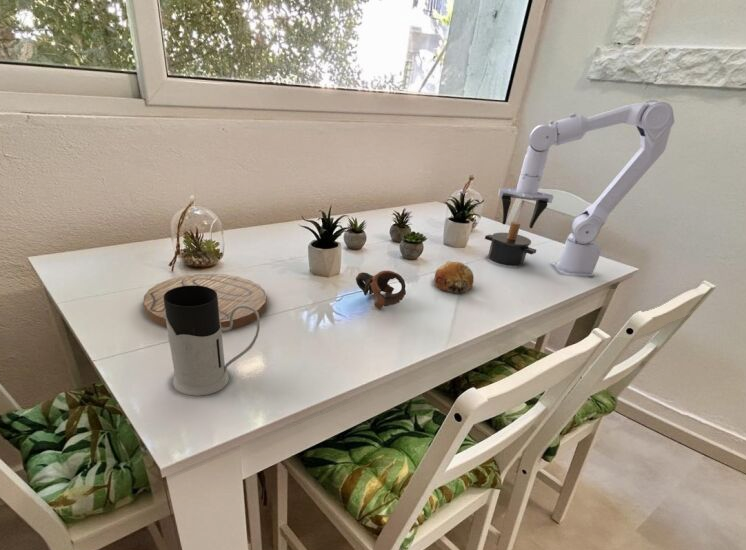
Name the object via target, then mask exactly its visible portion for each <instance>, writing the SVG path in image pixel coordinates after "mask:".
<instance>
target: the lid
mask: <svg viewBox="0 0 746 550" xmlns="http://www.w3.org/2000/svg"><path fill="white" fill-rule="evenodd" d="M520 228H521V223H520V222H519V221H518V222H517V221H510V226H509V229H508V232H495V233H493V234H491V235H492V239H494V240H495V241H497V242H499V243H502V244H506V245H511V246H528V245H529V246H531V244H532V240H531V239H530V238H528V237H526V236H523V235H521V234H519V231H520ZM529 246H528V247H529Z"/></svg>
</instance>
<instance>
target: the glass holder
mask: <svg viewBox="0 0 746 550" xmlns="http://www.w3.org/2000/svg"><path fill="white" fill-rule="evenodd" d="M164 303H165V318H166V324H167V327H166V329H167V330H166V331H167V336H168V342H169V348H170V355H171V360H172V366H173V372H174V377H173V381H172V385H173V387H174V389H175V390H176V391H177V392H179V393H181V394H184V395H187V396H193V397H195V396H200V397H201V396H207V395H211V394H215V393H217V392H219V391H221V390H222V389H224V388H225V387H226V386H227V385H228V383H229V378H230V377H229V374H228V367H229V366H230V365H232V364H233V363H234V362H236V361H237V360H238V359H240V358H241V357H243V356H244V355H245V354H247V353H248V352H249V351H250V350H251V349H252V348H253V347H254V344H255V343H256V341H257V339H258V336H259V332H260V328H261V319H260V317H259V314H258V312H257V310H256V309H255V308H253V307H252V306H249V305H244V304H242V305H238V306H236V307H235V308H234V309H233V310H232V312H231V315H230V326H229V327H226V328H222V327H221V323H220V319H219V308H218V297H217V293H216V291H214V290H213V289H211V288H208V287H204V286H196V285H190V286H181V287H177V288H173V289H171V290H169V291H167V292H166V293H165V294H164ZM239 308H248V309H251V310H252V311H254V312H255V314H256V316H257V319H256V320H257V324H256V331H255V335H254V337H253V339H252V340H251V342H250V344H249V345H248V346H247V347H246V348H245V349H244V350H243V351H241V352H240V353H239V354H237V355H236V356H234V357H233V358H231V359H230V360H228V361H227V362H225V352H224V341H223V332H228V331H230V330H232V329H231V328H232V325H233V314H234V312H235V311H236V310H238V309H239Z"/></svg>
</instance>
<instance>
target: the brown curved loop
mask: <svg viewBox="0 0 746 550" xmlns="http://www.w3.org/2000/svg"><path fill="white" fill-rule="evenodd" d="M394 279H396V280H397V281H398V283H399V284H400V285H401V288H400V290H399V291H398V292H395V293H393V292H394V290H395V288H394V287H393V286H392V285H390V284H388V283H389V281H390V280H394ZM355 282H356V285H357V286H358V287H359V289H360V290H361V291H362V293H363V296H367V295H368V294H369V295H370V296H371V295H372V294H373V295H374V296H375V298H376V301H375V302H374V307H375V308H377V309H378V310H381V309H382V308H383V307H391V306H393V305H397V304H399V303H400V301H402V300H403V299H404V298H405V296H406V295H407V290H406V286H407V285H406V282H405V279H404V278H403V276H401V275H400V274H399V273H397V272H395V271H392V270H381V271H379V272H378V273H376V274H374V275H372V274H370V273H368V272H364V271H363V272H359V273H358V274H357V276H356V277H355ZM381 292H383V293H385V294H384V295H383V294H382V293H381Z"/></svg>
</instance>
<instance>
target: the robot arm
mask: <svg viewBox="0 0 746 550" xmlns="http://www.w3.org/2000/svg"><path fill="white" fill-rule="evenodd" d="M620 124H627V125H630V126H635V127H636V129H637V131H638V133H639V143H640V147H639V149H638V150H637V151H636V152H635V154H634V155H633V156H632V157H631V158H630V159H629V160H628V162H627V164H625V165H624V167H623V168H622V169H621V170H620V171H619V172H618V173H617V175H616V176H615V177H614V178H613V180H612V181H611V182H610V183H609V184H608V186H607V187H606V188H605V189H604V190H603V191H602V193H601V194H600V195H599V196H598V197H597V199H595V201H594V202H593V203H591V204H590V205H588V206H587V207H586V208H585V210H584V211H582V212H580V213H579V214H577V215H576V216H575V217H574V218H573V219H572V221H571V223H570V224H571V225H570V228H571V231H572V232H571V233H570V234H569V235H567V238H566V240H565V244H564V246H563V249H562V252H561V255H560V257H559V261H558V262H552V266H554V267H555V268H556V269H557V270H558V271H559V272H560V273H563V274H573V275H581V276H582V275H583V276H585V277H593V276H594V274H593V273H594V271H595V268H596V266H597V264H598V261H599V258H600V257H601V251H602V246H601V244H600V242H597V241H595V240H596V239H597V238H598V237H599V235H600V232H601V230H602V228H603V226H604V225H605V224H606V222H607V220H608V217H609V216H610V214H611V213H612V212H613V210H614V209H615V208H616V206H618V205H619V204H620V202H621V201H622V200H623V199H624V198H625V197H626V195H627V194H628V193H629V192H630V191H631V190H632V189H633V188H634V187H635V185H636V184H637V183H638V182H639V181H640V179H642V177H644V175H645V174H646V173H647V172H648V171H649V169H650V168H651V167H652V166H653V165H654V164H655V163H656V162H657V160H658V159H659V158H660V157H661V156H662V155H663V154H664V152H665V150H666V149H667V144H668V141H669V137H670V134H671V131H672V128H673V125H674V124H675V116H674V109H673V106H672V105H671V104H670V103H668V102H666V101H658V100H649V101H648V100H647V101H646V102H637V103H631V104H626V105H623V106H620V107H616V108H613V109H610V110H607V111H604V112H602V113H598V114H595V115H592V116H589V117H585V115H582V114H581V113H579V114H576V113H575V112H574V113H570V114H569V117H566V118H562V119H559V120H555V121H554V119H552V120H549V121H548V125H547V124H538V125H537V126H535V127H534V128H533V130H531V132H530V134H529V135H528V142H529V145H528V147H527V149H526V153H525V156H524V159H523V163H522V166H521V170H520V174H519V178H518V181H517V185H516V188H504V187H500V188H499V190H498V194H497V195H498V197H499V198H501V202H502V203H501V204H502V214H503V215H502V222H501V223H502V225H506V223H507V217H508V214H509V210H510V206H511V203H512V199H518V200H519V199H520V200H527V201H534V202H535V204H534V210H533V212H532V216H531V219H530V222H529V225H528V226H529V229H533V227H534V225H535V223H536V221H537V220H538V219H539V217H540V216H541V215H542V213H543V212H544V211H545V209H546V208H547V207H548V204H552V203H553V200H554V197H555V196H554V194H550V193H544V192H540V191H539V188H540V185H541V181H542V178H543V174H544V171H545V168H546V164H547V160H548V154H549V150H550V148H551V147H552V146H555V147H557V146H560V145H565V144H567V143H571V142H574V141H579V140H582V139H583V138H584V136H585V135H586V134H587V133H588V132H592V131H595V130H599V129H603V128H608V127H612V126H615V125H620Z"/></svg>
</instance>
